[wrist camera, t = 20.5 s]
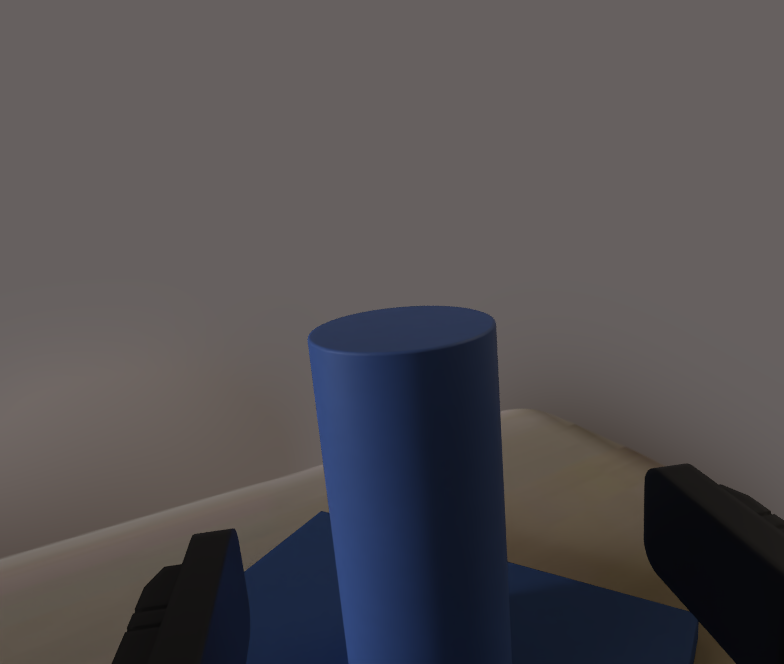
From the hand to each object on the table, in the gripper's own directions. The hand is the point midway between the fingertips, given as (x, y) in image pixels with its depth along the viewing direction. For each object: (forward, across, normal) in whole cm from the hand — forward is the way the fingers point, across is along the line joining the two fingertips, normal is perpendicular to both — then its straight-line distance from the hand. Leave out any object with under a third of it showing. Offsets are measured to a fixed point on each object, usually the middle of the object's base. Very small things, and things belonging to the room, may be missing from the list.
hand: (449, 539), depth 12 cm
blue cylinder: (+6, 0, +8) cm, 10 cm away
